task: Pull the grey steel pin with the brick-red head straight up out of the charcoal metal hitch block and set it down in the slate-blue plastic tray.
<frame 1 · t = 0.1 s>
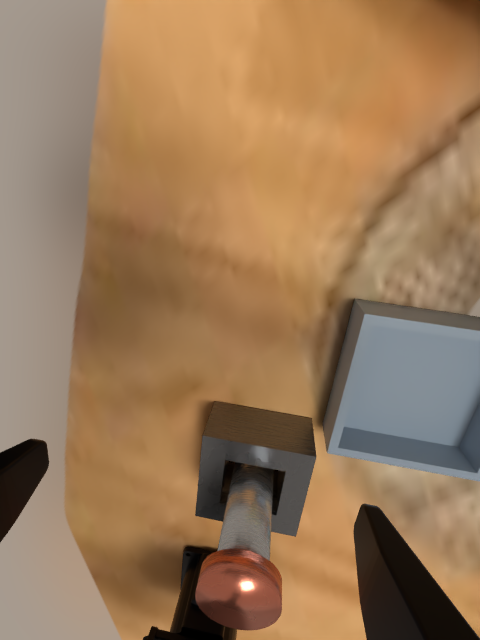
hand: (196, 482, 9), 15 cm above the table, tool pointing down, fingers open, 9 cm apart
tray: (410, 378, 23), on the table
pin: (249, 507, 22), in the hitch block
hitch block: (256, 447, 27), on the table
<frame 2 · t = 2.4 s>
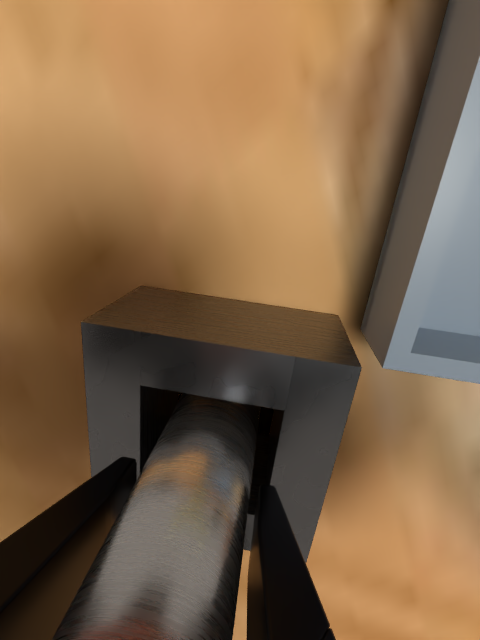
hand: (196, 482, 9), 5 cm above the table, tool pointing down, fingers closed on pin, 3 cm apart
pin: (192, 495, 9), in the hitch block, touching gripper
hitch block: (227, 385, 14), on the table
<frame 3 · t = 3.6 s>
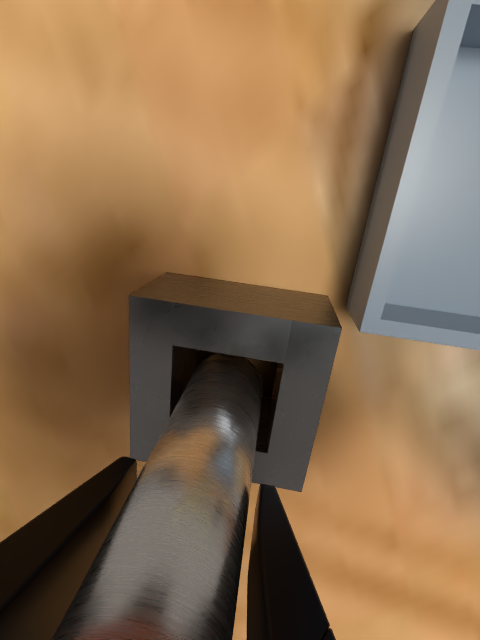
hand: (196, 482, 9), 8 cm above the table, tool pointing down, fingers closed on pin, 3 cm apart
pin: (192, 495, 9), point 8 cm above the table, touching gripper
hitch block: (236, 356, 16), on the table
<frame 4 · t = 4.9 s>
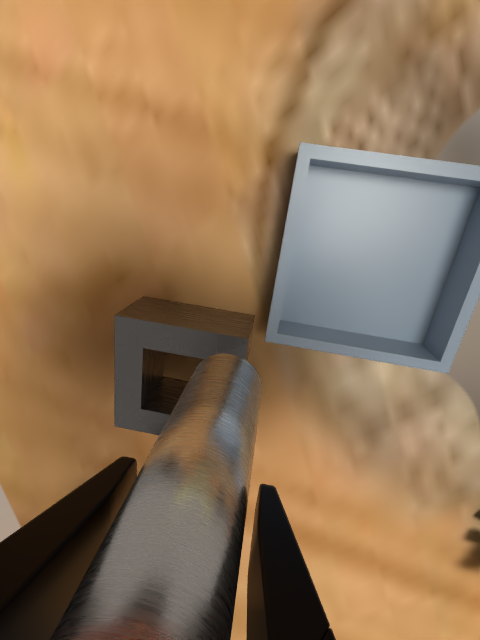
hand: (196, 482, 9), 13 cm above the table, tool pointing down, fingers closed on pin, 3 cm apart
tray: (366, 258, 19), on the table
pin: (191, 496, 9), point 14 cm above the table, touching gripper
hitch block: (193, 356, 23), on the table
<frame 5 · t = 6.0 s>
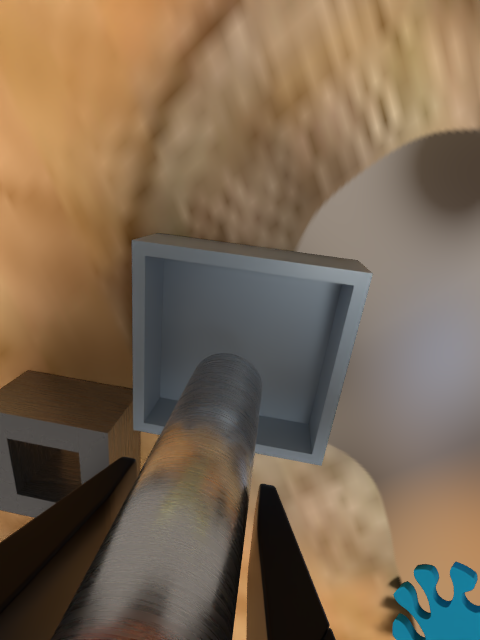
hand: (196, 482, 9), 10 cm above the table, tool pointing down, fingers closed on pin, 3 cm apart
tray: (243, 337, 18), on the table
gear: (443, 590, 23), on the table
pin: (191, 496, 9), point 10 cm above the table, touching gripper
hitch block: (86, 428, 22), on the table
when the fingers open (7 cm above the table, at t = 7.1 s): pin drops 2 cm, resting on tray.
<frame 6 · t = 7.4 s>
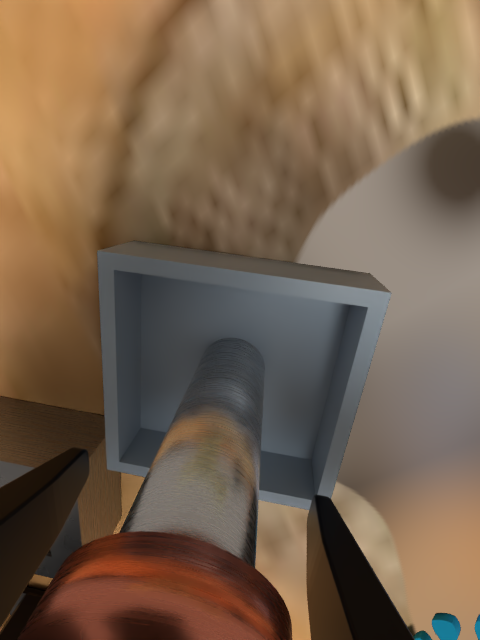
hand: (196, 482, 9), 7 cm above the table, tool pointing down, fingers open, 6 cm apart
tray: (235, 361, 16), on the table
pin: (211, 451, 10), in the tray, point 6 cm above the table
hitch block: (60, 458, 20), on the table
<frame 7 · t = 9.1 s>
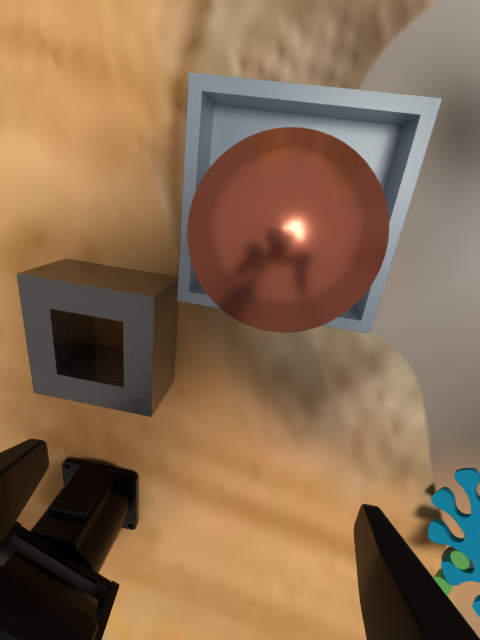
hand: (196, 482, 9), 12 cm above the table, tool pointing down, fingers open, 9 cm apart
tray: (289, 212, 18), on the table
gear: (479, 499, 23), on the table
pin: (286, 220, 12), in the tray, point 6 cm above the table
hitch block: (122, 323, 22), on the table
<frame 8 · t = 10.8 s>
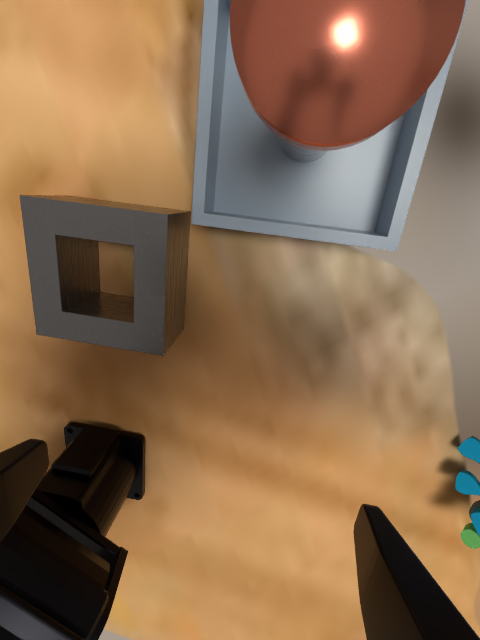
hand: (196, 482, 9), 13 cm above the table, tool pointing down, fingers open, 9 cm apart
tray: (307, 132, 17), on the table
pin: (316, 97, 11), in the tray, point 6 cm above the table
hitch block: (129, 265, 21), on the table
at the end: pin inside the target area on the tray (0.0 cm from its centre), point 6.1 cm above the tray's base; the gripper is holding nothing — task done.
